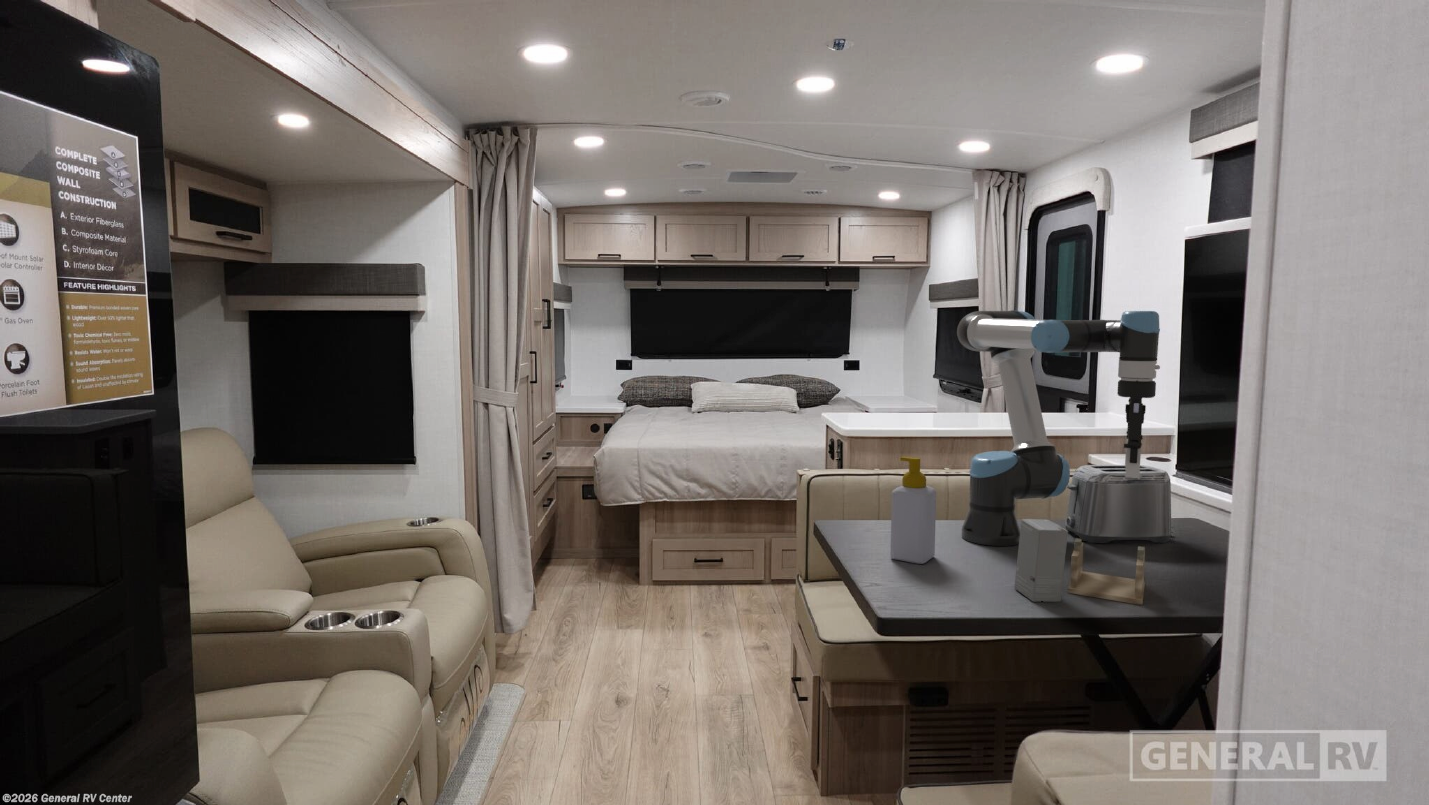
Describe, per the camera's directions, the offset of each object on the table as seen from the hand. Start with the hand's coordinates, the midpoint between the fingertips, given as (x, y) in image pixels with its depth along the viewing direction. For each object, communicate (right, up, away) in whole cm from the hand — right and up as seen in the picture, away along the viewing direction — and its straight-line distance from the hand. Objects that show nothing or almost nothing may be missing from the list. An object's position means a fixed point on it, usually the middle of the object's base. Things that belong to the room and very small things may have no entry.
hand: (1131, 472), depth 172 cm
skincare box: (-26, -26, -12) cm, 38 cm away
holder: (-10, -25, -8) cm, 28 cm away
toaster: (+15, -21, +33) cm, 42 cm away
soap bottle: (-46, -23, +15) cm, 54 cm away
